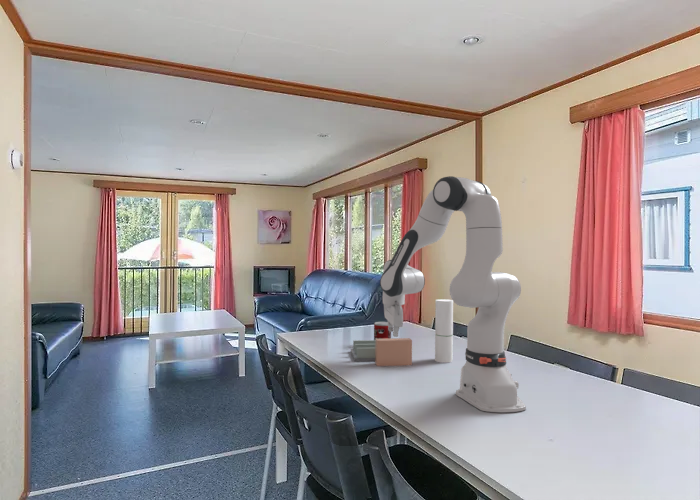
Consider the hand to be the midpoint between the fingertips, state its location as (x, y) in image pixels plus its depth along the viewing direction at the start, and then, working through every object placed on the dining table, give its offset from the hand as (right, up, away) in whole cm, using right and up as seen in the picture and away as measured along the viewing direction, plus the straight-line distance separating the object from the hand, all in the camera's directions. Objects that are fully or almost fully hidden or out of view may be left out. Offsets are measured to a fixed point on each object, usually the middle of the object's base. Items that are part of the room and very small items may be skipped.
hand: (393, 333), depth 172 cm
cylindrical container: (+22, -12, +6) cm, 26 cm away
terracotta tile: (0, -12, 0) cm, 12 cm away
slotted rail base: (-5, -12, +12) cm, 18 cm away
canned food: (-2, -12, +31) cm, 33 cm away
